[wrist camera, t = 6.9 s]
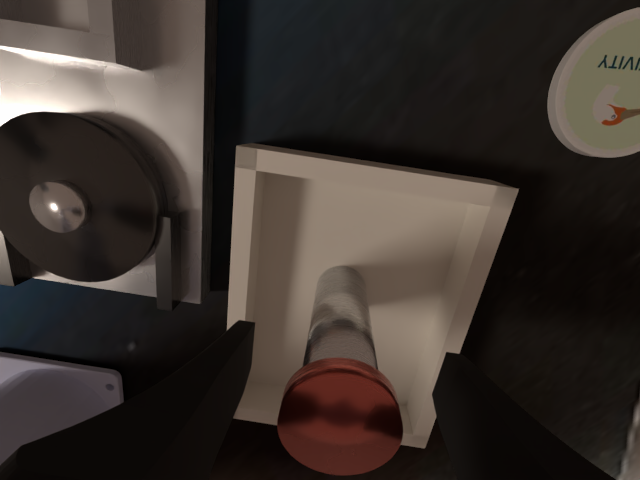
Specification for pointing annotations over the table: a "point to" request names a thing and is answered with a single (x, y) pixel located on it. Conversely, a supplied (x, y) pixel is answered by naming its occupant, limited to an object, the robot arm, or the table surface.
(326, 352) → the pin
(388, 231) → the tray
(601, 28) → the sign
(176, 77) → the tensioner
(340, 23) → the table surface
